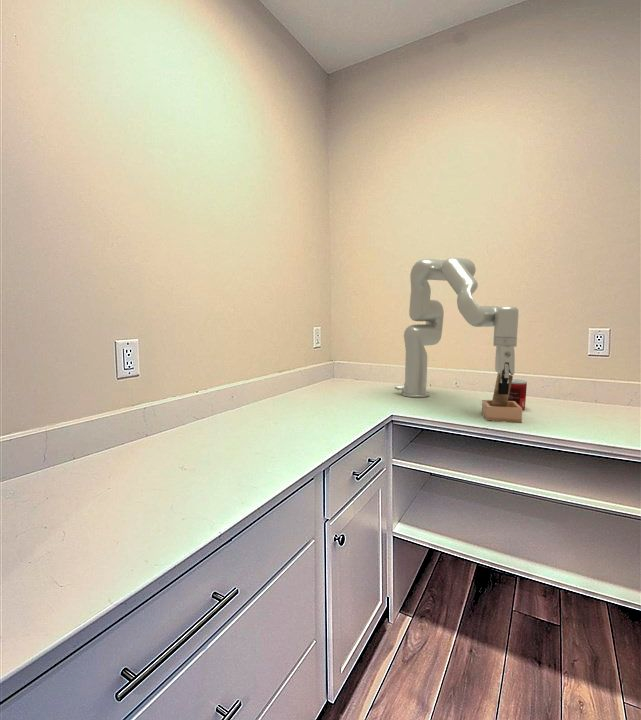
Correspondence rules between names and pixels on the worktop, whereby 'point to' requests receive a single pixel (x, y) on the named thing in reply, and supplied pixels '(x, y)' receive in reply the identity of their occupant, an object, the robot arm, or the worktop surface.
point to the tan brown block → (501, 399)
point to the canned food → (518, 392)
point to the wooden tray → (502, 412)
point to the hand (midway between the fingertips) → (502, 392)
